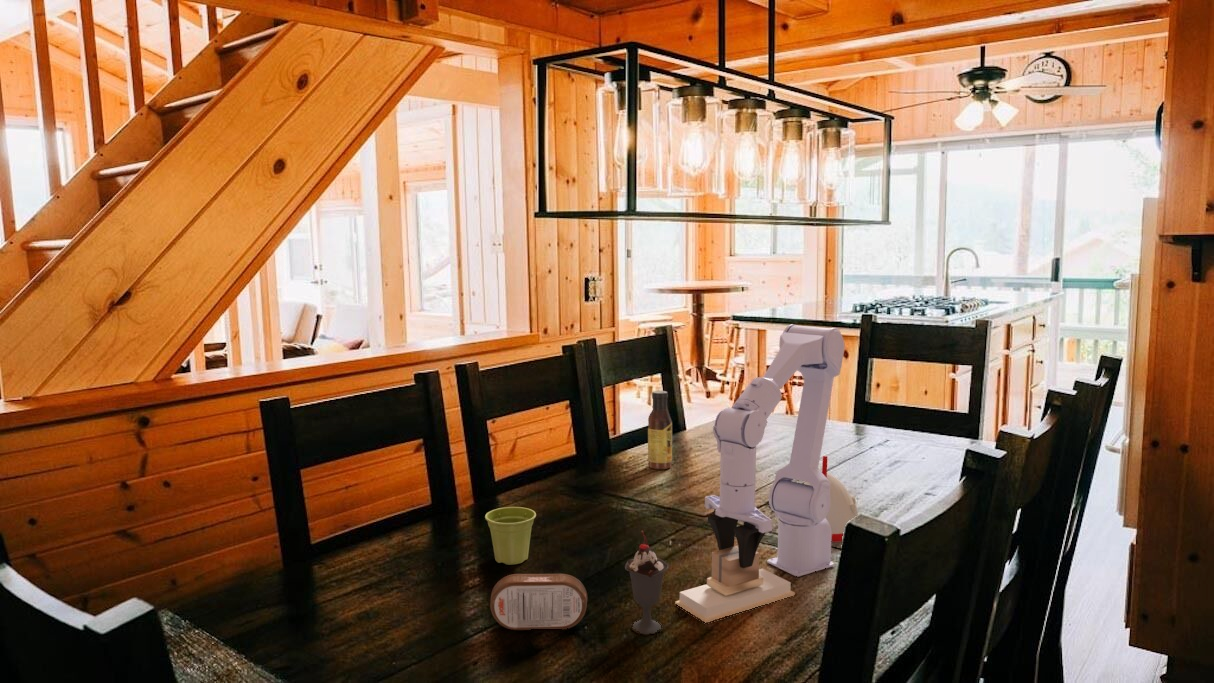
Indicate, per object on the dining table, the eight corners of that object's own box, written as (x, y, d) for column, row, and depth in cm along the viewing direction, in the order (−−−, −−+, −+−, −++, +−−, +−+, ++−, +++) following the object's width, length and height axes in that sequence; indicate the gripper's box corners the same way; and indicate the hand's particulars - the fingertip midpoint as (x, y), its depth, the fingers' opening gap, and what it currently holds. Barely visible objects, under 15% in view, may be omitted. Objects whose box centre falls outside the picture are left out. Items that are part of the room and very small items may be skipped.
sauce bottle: (672, 470, 213) (673, 394, 210) (648, 470, 213) (648, 394, 211) (671, 463, 220) (671, 389, 217) (647, 463, 220) (647, 389, 217)
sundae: (641, 613, 134) (642, 524, 132) (676, 626, 129) (677, 533, 127) (616, 629, 128) (615, 535, 126) (651, 642, 124) (651, 546, 122)
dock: (675, 604, 137) (675, 591, 136) (762, 579, 147) (762, 566, 146) (705, 624, 130) (705, 610, 130) (794, 595, 140) (794, 582, 140)
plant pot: (481, 553, 159) (480, 509, 158) (529, 546, 162) (528, 504, 161) (492, 572, 150) (491, 526, 149) (542, 564, 153) (542, 519, 152)
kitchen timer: (857, 521, 176) (859, 452, 174) (858, 545, 163) (861, 470, 161) (790, 515, 180) (791, 448, 178) (786, 538, 166) (788, 465, 164)
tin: (587, 622, 131) (587, 571, 130) (587, 631, 128) (587, 579, 127) (491, 623, 131) (490, 572, 129) (489, 633, 127) (488, 581, 126)
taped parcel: (743, 574, 142) (744, 542, 141) (763, 584, 138) (763, 551, 137) (706, 585, 138) (707, 552, 137) (725, 595, 134) (726, 562, 133)
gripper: (690, 474, 140) (690, 551, 141) (748, 497, 127) (747, 582, 129) (723, 468, 143) (722, 543, 145) (782, 490, 131) (780, 572, 133)
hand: (736, 561), depth 137 cm, fingers closed on taped parcel, 4 cm apart
